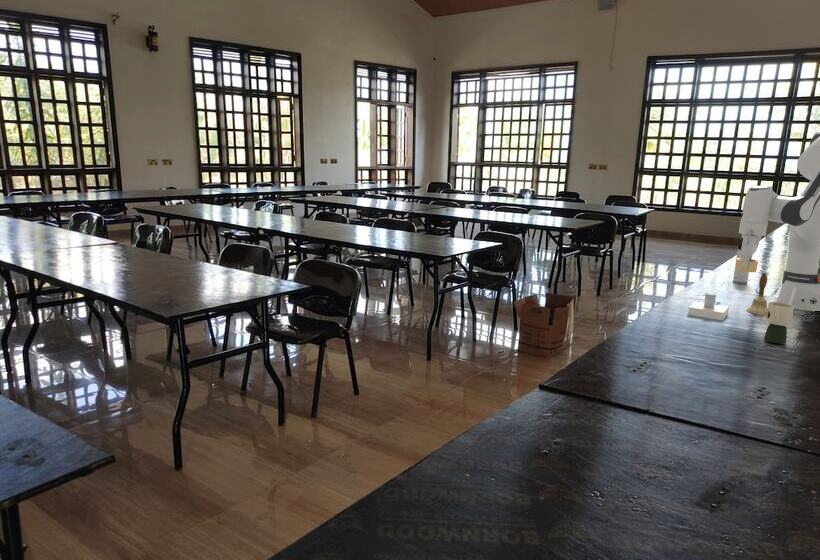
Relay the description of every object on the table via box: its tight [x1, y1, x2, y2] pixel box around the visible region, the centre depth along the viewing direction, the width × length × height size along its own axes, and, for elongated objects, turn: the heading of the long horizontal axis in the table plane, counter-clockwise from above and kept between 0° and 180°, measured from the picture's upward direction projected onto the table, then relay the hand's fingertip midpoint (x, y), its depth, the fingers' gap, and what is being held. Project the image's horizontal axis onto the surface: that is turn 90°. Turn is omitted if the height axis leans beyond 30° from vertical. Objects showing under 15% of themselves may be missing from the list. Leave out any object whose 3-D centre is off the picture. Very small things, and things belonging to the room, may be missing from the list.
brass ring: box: [734, 257, 759, 273], centre depth 218 cm, size 7×7×4 cm
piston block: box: [687, 292, 730, 322], centre depth 222 cm, size 12×12×8 cm
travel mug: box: [732, 243, 750, 285], centre depth 285 cm, size 6×7×20 cm
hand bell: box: [745, 272, 768, 316], centre depth 228 cm, size 8×8×16 cm
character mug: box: [763, 301, 795, 345], centre depth 188 cm, size 11×7×13 cm, turn 140°
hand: (746, 266), depth 218 cm, fingers closed on brass ring, 7 cm apart
